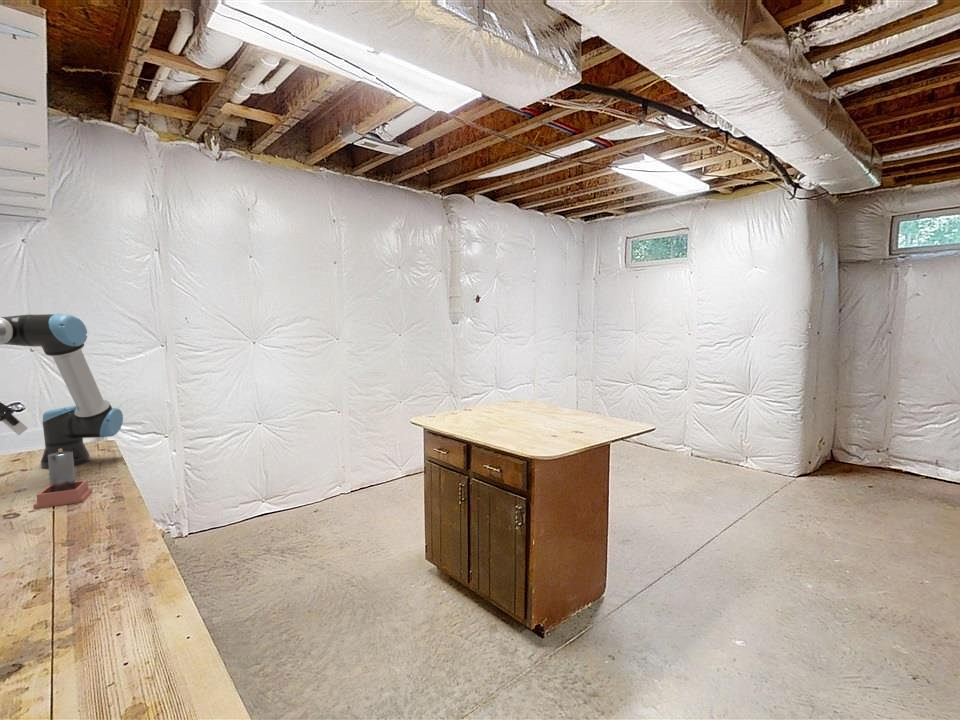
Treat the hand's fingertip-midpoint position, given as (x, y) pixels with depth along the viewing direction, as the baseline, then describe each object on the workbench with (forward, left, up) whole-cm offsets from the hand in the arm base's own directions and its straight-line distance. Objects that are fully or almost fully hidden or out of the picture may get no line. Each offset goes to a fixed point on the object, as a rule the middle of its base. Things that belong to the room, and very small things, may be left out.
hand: (8, 430), depth 143 cm
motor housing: (-2, +11, -23) cm, 26 cm away
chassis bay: (-2, +11, -24) cm, 27 cm away
